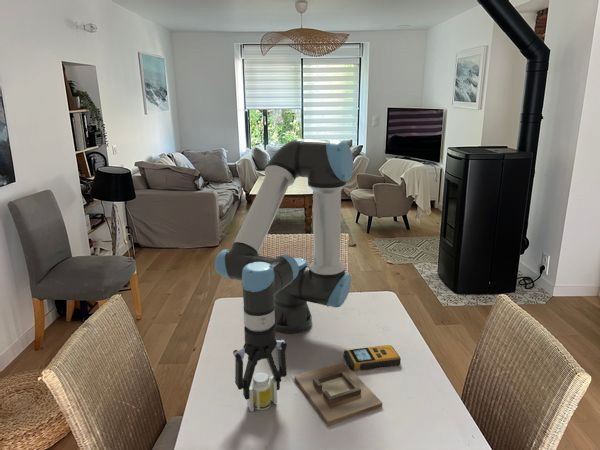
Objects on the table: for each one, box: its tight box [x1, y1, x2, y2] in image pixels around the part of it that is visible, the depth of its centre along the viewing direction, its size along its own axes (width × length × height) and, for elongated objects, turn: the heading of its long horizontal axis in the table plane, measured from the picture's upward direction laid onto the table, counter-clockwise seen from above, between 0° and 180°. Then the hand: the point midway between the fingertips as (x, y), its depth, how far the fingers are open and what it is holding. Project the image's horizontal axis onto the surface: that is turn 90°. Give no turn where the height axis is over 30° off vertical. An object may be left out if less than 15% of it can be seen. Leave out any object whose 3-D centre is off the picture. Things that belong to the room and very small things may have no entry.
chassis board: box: [293, 361, 383, 426], centre depth 119 cm, size 20×16×3 cm
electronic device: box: [343, 344, 401, 372], centre depth 133 cm, size 8×16×3 cm, turn 102°
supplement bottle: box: [251, 372, 272, 411], centre depth 114 cm, size 5×5×8 cm
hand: (262, 403), depth 115 cm, fingers open, 6 cm apart
